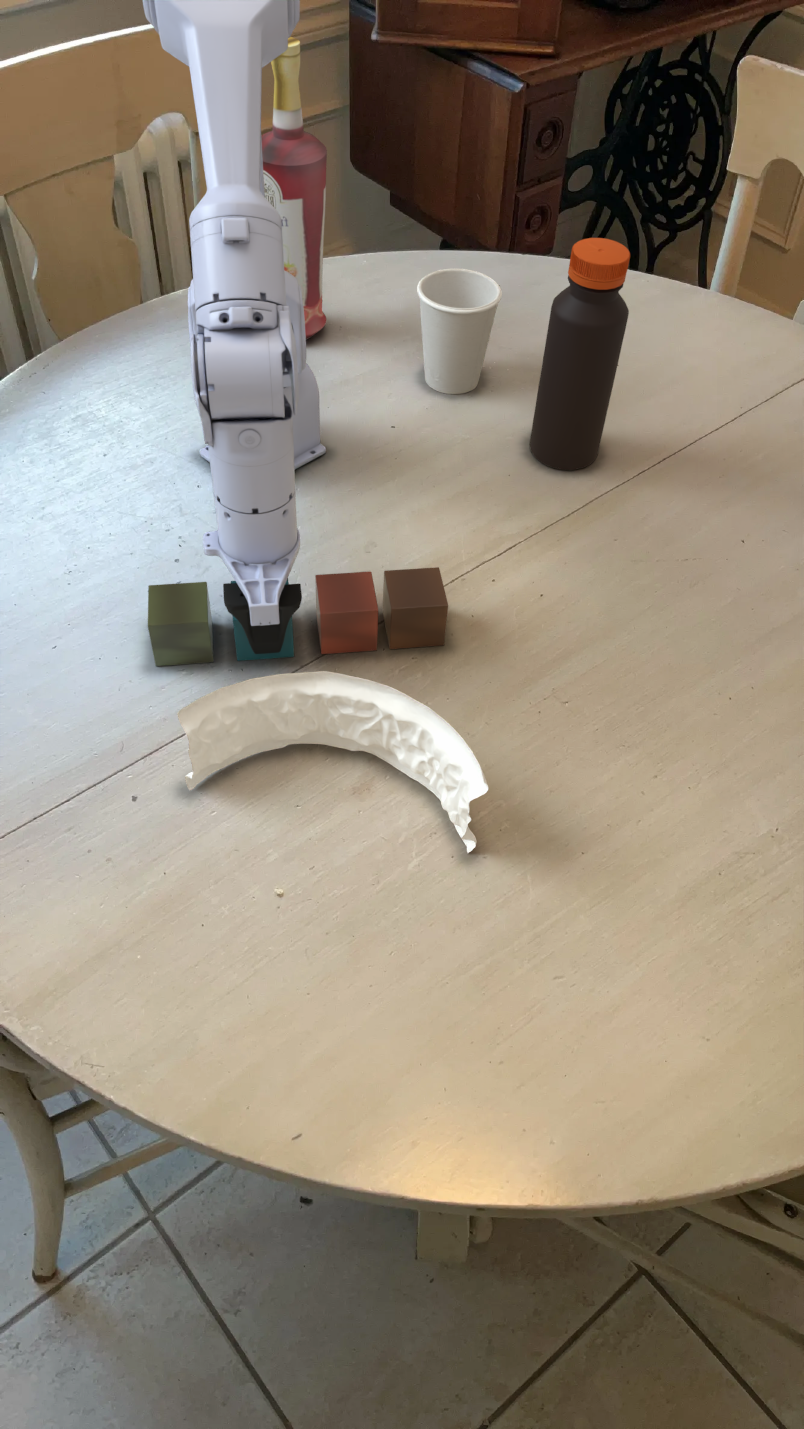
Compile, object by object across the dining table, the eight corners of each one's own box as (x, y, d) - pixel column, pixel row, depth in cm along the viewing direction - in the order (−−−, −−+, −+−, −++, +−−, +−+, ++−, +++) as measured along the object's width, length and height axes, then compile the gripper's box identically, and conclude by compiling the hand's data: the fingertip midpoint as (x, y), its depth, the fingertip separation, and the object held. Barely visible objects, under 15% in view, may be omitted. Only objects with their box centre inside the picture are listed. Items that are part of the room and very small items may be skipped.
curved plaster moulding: (481, 856, 72) (489, 777, 66) (186, 884, 70) (168, 805, 64) (454, 736, 80) (460, 655, 74) (189, 758, 78) (173, 677, 72)
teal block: (290, 617, 87) (288, 576, 83) (294, 657, 84) (292, 616, 80) (234, 621, 86) (230, 580, 83) (237, 661, 83) (232, 620, 80)
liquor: (342, 330, 116) (342, 43, 95) (295, 355, 112) (284, 62, 91) (295, 306, 119) (285, 22, 98) (247, 329, 115) (226, 39, 94)
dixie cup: (449, 348, 114) (456, 259, 107) (507, 380, 111) (519, 290, 103) (395, 377, 110) (399, 286, 103) (454, 411, 107) (462, 319, 99)
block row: (435, 607, 88) (439, 566, 85) (444, 645, 85) (448, 605, 82) (156, 626, 85) (148, 584, 82) (155, 666, 82) (147, 625, 79)
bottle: (519, 460, 102) (550, 259, 87) (540, 423, 106) (573, 225, 91) (587, 479, 100) (630, 277, 85) (605, 441, 105) (650, 242, 89)
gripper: (194, 430, 78) (212, 569, 88) (198, 560, 68) (217, 698, 79) (290, 426, 79) (296, 564, 89) (306, 554, 69) (311, 691, 80)
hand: (265, 626), depth 84 cm, fingers closed on teal block, 4 cm apart
